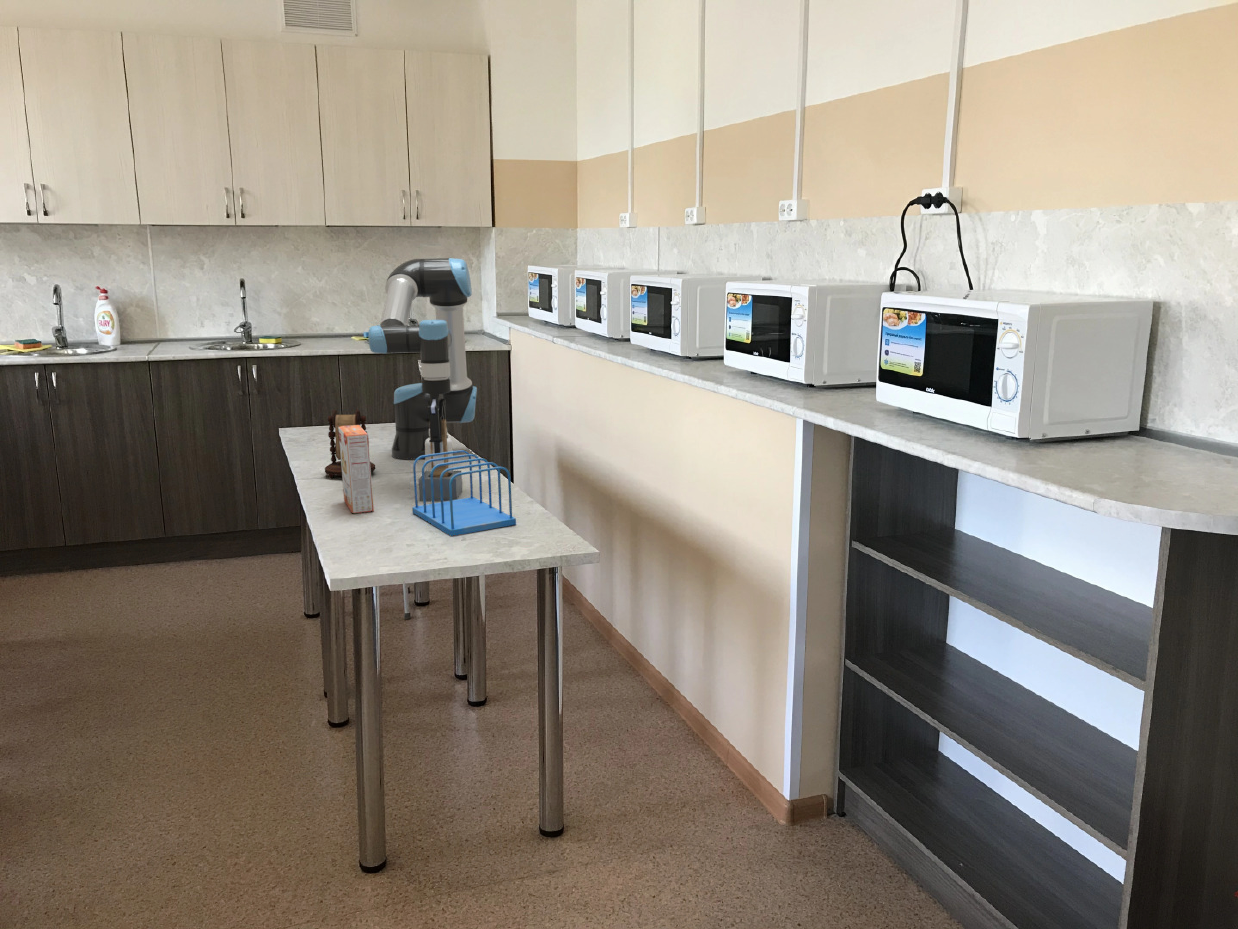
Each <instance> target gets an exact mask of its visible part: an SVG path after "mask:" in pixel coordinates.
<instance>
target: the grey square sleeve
mask: <svg viewBox="0 0 1238 929" xmlns="http://www.w3.org/2000/svg"><path fill="white" fill-rule="evenodd" d="M448 473H449V477H443V478H442V488H443V502H445V501H450V495H449V482H450V479H451V478H452V477H453V476H454V475H455V474H457V473H462V470H453V471H448ZM430 474H431V471H426V470H424V480H425V497H426V502H427V501H428V502H432V497H431V479H430ZM433 489H434V502H441V497H440V477H433ZM418 490H419V491H418V493H419V494H418V495H419V501H420V502H421V501H422V502H423V487H422V475H421V476H420V477H419V478H418ZM462 493H463V475H459V476H457V477H455V478H454V479H453V481H452V500H457V499H460V496H461V494H462Z"/></svg>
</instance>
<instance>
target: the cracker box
mask: <svg viewBox="0 0 1238 929" xmlns="http://www.w3.org/2000/svg"><path fill="white" fill-rule="evenodd" d="M338 430H339V442H340V454H341V460H340V461H341V466H342V476H341V477H342V478H341V479H342V488H343V489H342V490H343V500H344V503H345V504H346V505H347V508H348V510H349V511H350V512H351V514H352V513H357V514H363V513H362V512H364V513H370V512H371V511H372V512H374V498H373V497H374V496H373V488H372V487H373V484H372V483H373V482H372V472H371V468H370V462H371V459H370V457H371V456H370V440H369V434H368V432H367V433H366V432H365V431H366V430H365V431H364V430H363V429H362V428H361V424H360V425H351V426H340V427H338Z"/></svg>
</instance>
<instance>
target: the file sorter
mask: <svg viewBox="0 0 1238 929" xmlns="http://www.w3.org/2000/svg"><path fill="white" fill-rule="evenodd" d="M452 453H453V454H458V453H459V454H460V455H459V454H458V455H453V456H451V457H444V458H437V459H431V460H428V461H424V463H423V465H422V466H421V476H422V487H423V501H422V502H423V504H421V505H418V504H419V503H418V489H417V488H418V487H417V472H416V471H417V470H416V467H417V464H418V461H420V460H422V459H421V458H424V457H431V456H438V455H445V454H452ZM461 453H465V454H461ZM466 457H467V458H468V459H462V460H455V461H454V459H459V458H466ZM472 457H474V458H472ZM424 459H425V458H424ZM446 459H453V462H448V463H441V464H437V465H436V466H434V467H433V468H432V470H431V474H430V479H431V497H432V501H431V503H428V504H427V501H426V497H425V480H424V472H425V470H426V465H427V464H428V463H430V462H433V461H440V460H446ZM482 461H483V462H482ZM473 462H477V463H474V464H472V463H473ZM463 463H469V464H467V465H460V466H453V468H448V469H446V470H444V471H443V472H442V474H441V476H440V497H441V501H438V502H435V501H434V489H433V472H434V470H435V469H436V468H437V467H439V466H444V465H451V464H453V465H455V464H456V465H457V464H463ZM490 465H491V466H494V467H491V466H490ZM482 466H486V467H487V468H482ZM475 467H476V468H477V467H478V469H475V470H473V468H475ZM412 468H413V469H412V470H413V472H412V474H413V486H414V488H413V489H414V504H415V505H414V506H412V508H411V509H412V514H414V515H416V516H417V515H418V516H417V517H419V518H420V517H421V520H422V519H423V520H424V521H425V522H427V521H428V522H427V523H429V524H430V523H431V524H430V525H432V526H433V527H435V528H437V529H438V528H439V530H440V531H442V532H444V533H445V534H446V535H448V534H449V535H448V536H450V535H451V536H450V537H454V536H453V535H456V536H460V535H459V534H461V535H466V534H471V533H472V534H473V533H477V532H483V531H487V530H493V529H499V528H503V527H510V526H515V525H517V521H516V520H517V519H516V517H514V516H513V502H512V499H513V498H512V485H511V484H512V483H511V482H512V480H511V479H512V478H511V473H510V471H509V470H508V468H506V467H503V466H499V465H498V464H496V463H495V462H492V461H490V462H489V461H488V460H487V459H485V458H482V457H479V456H477V455H476V454H473V453H469V452H468V451H466V450H463V449H461V450H460V449H459V450H452V451H450V452H443V453H436V454H429V455H422V456H419V457H418V458H417V459H414V461H413V464H412ZM467 468H468V469H469V471H463V472H462V471H461V472H462V473H457V474H455V475H454V476H453V477H452V478H451V479H450V482H449V495H450V501H443V488H442V478H443V475H444V474H445V473H446V472H447V471H450V470H453V471H457V470H462V469H467ZM501 470H504V471H505V472H506V474H507V483H508V484H507V485H508V506H509V512H508V513H506V512H504V511H502V510H503V507H502V487H501V486H502V484H501V483H502V482H501ZM491 471H497V485H498V486H497V489H498V491H497V492H498V507H499V509H498V508H495V507H494V506H492V505H493V504H492V503H493V502H492V481H491V480H492V479H491ZM482 472H487V478H488V479H487V480H488V481H487V483H488V501H489V504H488V503H486V502H484V501H483V487H482V486H483V485H482V484H483V483H482V480H483V479H482ZM476 473H477V474H478V482H479V484H478V486H479V488H478V489H479V499H478V498H476V497H475V496H474V493H473V492H474V490H473V474H476ZM459 475H462V476H463V475H469V487H470V497H465V498H458V499H457V500H452V481H453V479H454V478H455V477H457V476H459Z"/></svg>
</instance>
